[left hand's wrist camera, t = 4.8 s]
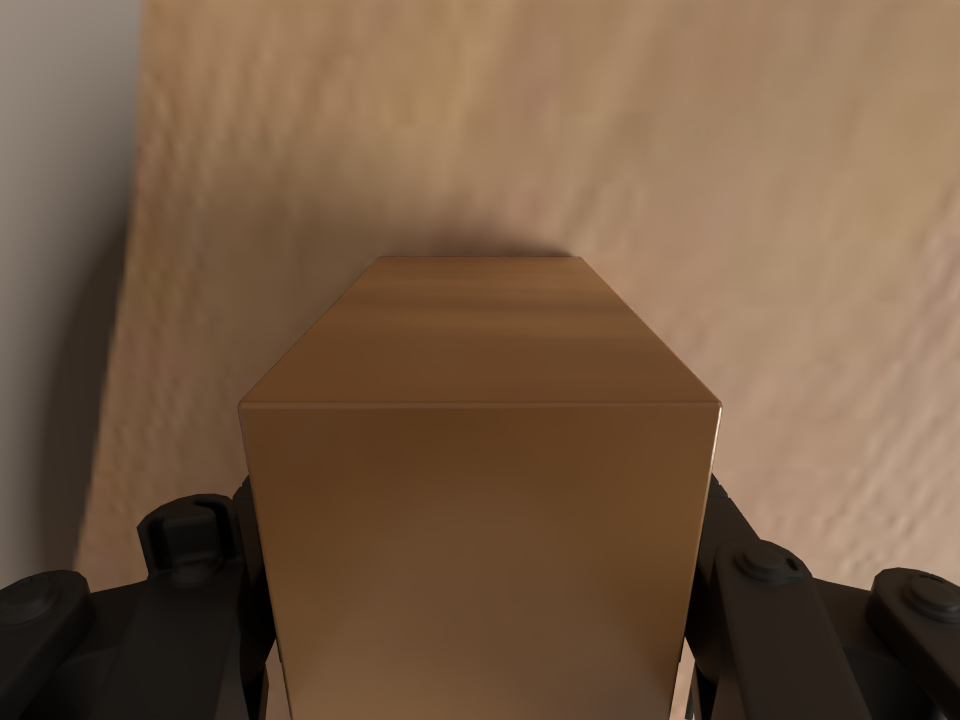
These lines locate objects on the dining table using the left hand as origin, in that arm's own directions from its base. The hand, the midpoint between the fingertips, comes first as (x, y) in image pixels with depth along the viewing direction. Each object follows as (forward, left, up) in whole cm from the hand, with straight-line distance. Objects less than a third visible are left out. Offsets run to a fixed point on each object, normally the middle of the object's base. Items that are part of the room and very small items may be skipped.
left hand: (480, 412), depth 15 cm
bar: (+9, +5, -1) cm, 10 cm away
